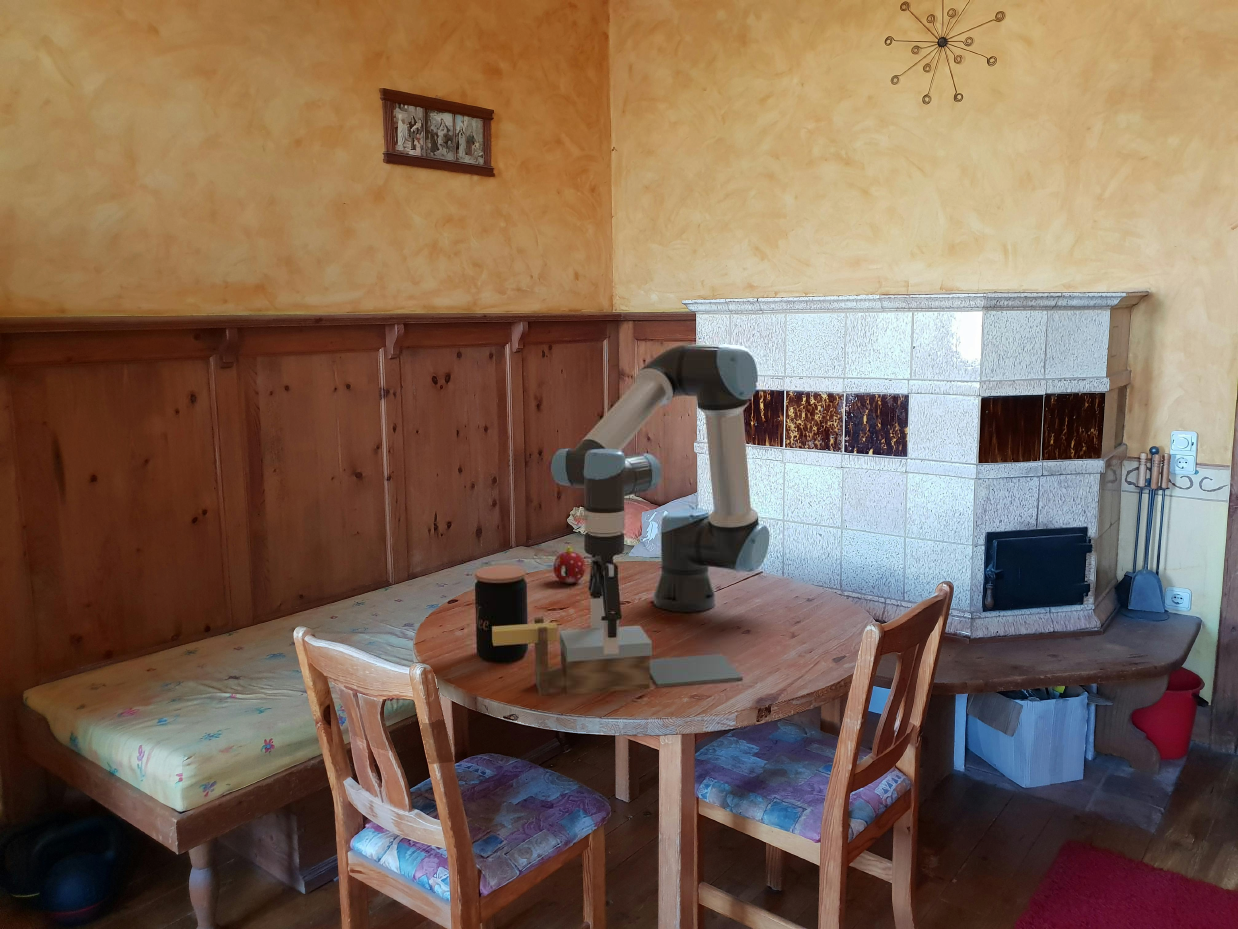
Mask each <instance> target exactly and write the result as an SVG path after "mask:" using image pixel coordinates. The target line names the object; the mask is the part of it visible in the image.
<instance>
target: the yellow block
mask: <svg viewBox="0 0 1238 929" xmlns="http://www.w3.org/2000/svg"><path fill="white" fill-rule="evenodd" d="M538 627H547V633H548V642H549V643H551V642H553V643H554V642H559V627H558V625H557V621H556V622H544V623H538V624H534V623H528V624H523V625H508V626H493V627H492V641H493V646H498V645H512V644H526V643H528V644H535V643H538Z"/></svg>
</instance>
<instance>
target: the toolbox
mask: <svg viewBox="0 0 1238 929" xmlns="http://www.w3.org/2000/svg"><path fill="white" fill-rule="evenodd" d="M544 620H545V619H544V617H534V621H533V622H534V623H533V624H538V623H545V622H544ZM548 646H549V644H548V633H547V627H538V643H534V660H535V661H534V665H535V666H534V667H535V670H534V672H535V674H534V676H535V685H536V688H537V692H538V696H539V697H540V698H543V697H549V694H560V693H565V695H579V694H590V693H591V694H592V693H602V692H603V693H604V692H615V691H626V690H627V691H628V690H638V689H649V688H651V676H650V659H651V655H648V656H635V657H622V658H609V659H595V660H582V661H569V662H567V660H566V657H565V655H564V653H563V650H562V648H561V647H560V667H559V668H549V650H548V649H549V648H548Z"/></svg>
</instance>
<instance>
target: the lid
mask: <svg viewBox="0 0 1238 929" xmlns="http://www.w3.org/2000/svg"><path fill="white" fill-rule="evenodd" d="M559 646H560V649H561V648H562V650H563V653H564V655H565V657H566V660H567V662H569V661H582V660H595V659H609V658H622V657H635V656H648V655H650V656H653V653H652V652H653V643H652V640H651V639H650V638H649V636H648V635H647V633H646V632H645V630H643V628H642V627H641V625H631V626H630V625H629V626H627V625H626V626H619V653H617V654H604V653H603V628H598V629H590V628H585V629H571V630H559Z"/></svg>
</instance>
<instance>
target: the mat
mask: <svg viewBox="0 0 1238 929" xmlns="http://www.w3.org/2000/svg"><path fill="white" fill-rule="evenodd" d="M650 679H652V681H653V682H654V684H655V686H656V687H657V688H662V687H665V688H666V687H674V686H686V685H687V686H688V685H698V684H700V685H701V684H711V683H723V682H734V681H737V682H738V681H743V679H744V678H743V676H742V675H741V673H740V672H739V671H737V669H736V668H735V667H734V666H733V664H731V662H729V660H728V659H727V658H726V657H725V656H724V654H722V653H717V654H716V653H715V654H705V655H704V654H703V655H693V656H691V655H690V656H678V657H667V658H664V657H663V658H653V659H651V658H650Z"/></svg>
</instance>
